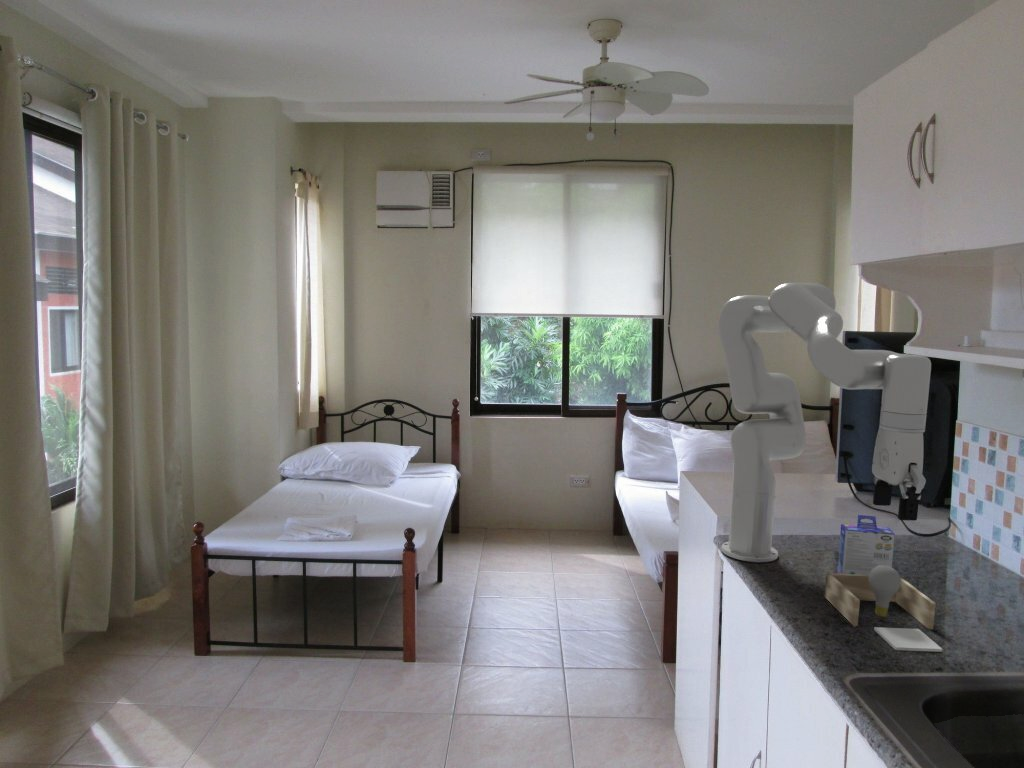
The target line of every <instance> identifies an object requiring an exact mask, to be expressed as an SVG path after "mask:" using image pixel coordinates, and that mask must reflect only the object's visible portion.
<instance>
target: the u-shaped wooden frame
mask: <svg viewBox="0 0 1024 768" xmlns="http://www.w3.org/2000/svg"><path fill="white" fill-rule="evenodd" d="M868 579H869V575H857V574H838V573H828V572H827V573H826V574H825V585H824V597H825V598H826V599H827V600H828V601H829V602H830V603H831V604H832V605H833V606H834V607H835V608H836V609H837V610H838V611H839V612H840V613H841V614H842V615H843V616H844V617H845V618H846V619H847V620H848V621H849V622H850V623H851V624H852V625H853V626H852V625H851V624H850V623H849V622H848V621H847V620H846V619H845V618H844V617H843V616H842V615H841V614H840V613H839V612H838V611H837V610H836V609H835V610H836V611H837V612H838V613H839V614H840V615H841V616H842V617H843V618H844V619H845V620H846V621H847V622H848V623H849V624H850V625H851V626H852V627H856V626H858V625H859V615H860V604H861V603H860V602H861V601H871V602H873V601H875V602H876V597H875V595H874V593H873V591H872V589H871V587H870V584H869V580H868ZM900 580H901V584H900V587H899V590H898V591H897V592H896V593H895V594H894V596H893V597H892V598H891V599H890V601H889V602H894V603H896V604H897V605H898V606H900V607H901V608H902V609H904V610H905V611H906V612H907V613H908V614H909V615H911V616H912V617H913V618H915V620H917V621H918V622H920V623H921V625H923V626H924V627H925V628H927V629H928V630H934V625H935V624H934V623H935V613H936V602H934V600H932V599H930V597H928V595H925V594H924V593H923V592H921V591H920V590H918V588H916V587H915V586H913V584H911V583H909V582H908V581H907V580H905V578H903V577H902V576H900ZM825 598H824V599H825ZM827 600H826V601H827ZM828 601H827V602H828ZM829 602H828V603H829ZM830 603H829V604H830ZM831 604H830V605H831ZM832 605H831V606H832Z"/></svg>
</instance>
